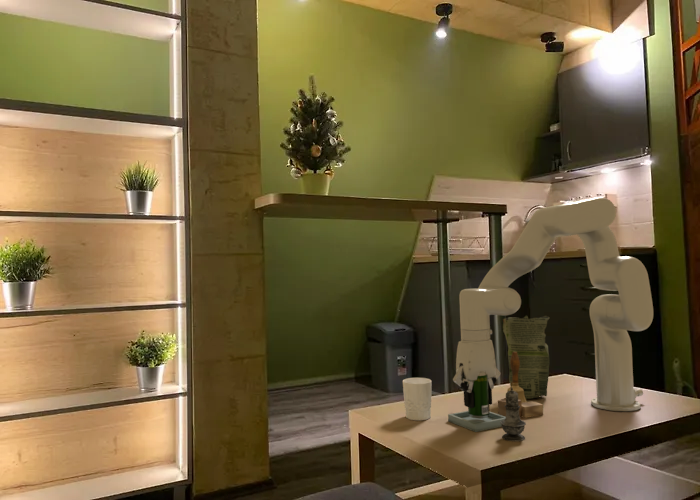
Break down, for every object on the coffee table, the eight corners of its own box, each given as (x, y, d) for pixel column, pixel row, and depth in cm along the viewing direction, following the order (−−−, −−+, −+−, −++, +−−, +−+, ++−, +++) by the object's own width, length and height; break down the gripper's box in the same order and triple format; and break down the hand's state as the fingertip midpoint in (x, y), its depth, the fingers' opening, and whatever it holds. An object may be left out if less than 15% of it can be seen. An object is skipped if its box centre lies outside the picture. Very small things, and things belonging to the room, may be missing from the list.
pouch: (502, 395, 169) (499, 315, 170) (525, 389, 176) (522, 312, 177) (532, 402, 160) (529, 317, 161) (556, 395, 167) (552, 314, 168)
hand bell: (504, 402, 161) (502, 349, 161) (533, 405, 157) (531, 350, 158) (498, 409, 154) (496, 353, 154) (528, 412, 150) (526, 354, 150)
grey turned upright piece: (497, 434, 132) (495, 384, 132) (520, 433, 132) (518, 383, 132) (506, 442, 126) (504, 390, 126) (530, 441, 126) (528, 389, 127)
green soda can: (493, 415, 141) (491, 369, 141) (480, 420, 138) (479, 372, 138) (476, 411, 145) (475, 367, 146) (464, 416, 142) (462, 370, 142)
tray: (480, 414, 149) (480, 408, 149) (509, 424, 139) (508, 417, 139) (448, 421, 144) (448, 414, 144) (475, 431, 134) (475, 424, 134)
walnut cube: (507, 413, 150) (506, 397, 150) (522, 416, 146) (521, 400, 146) (498, 417, 147) (497, 400, 147) (512, 420, 143) (512, 403, 143)
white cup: (435, 414, 151) (433, 378, 151) (429, 422, 143) (428, 384, 144) (407, 412, 153) (406, 377, 154) (400, 420, 146) (399, 383, 146)
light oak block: (533, 412, 151) (533, 401, 151) (543, 415, 147) (542, 404, 147) (515, 414, 149) (515, 403, 149) (524, 418, 145) (524, 407, 145)
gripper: (490, 331, 149) (493, 397, 149) (440, 337, 142) (443, 407, 141) (510, 334, 143) (513, 403, 142) (458, 340, 135) (461, 413, 134)
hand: (478, 404), depth 142 cm, fingers closed on green soda can, 5 cm apart
